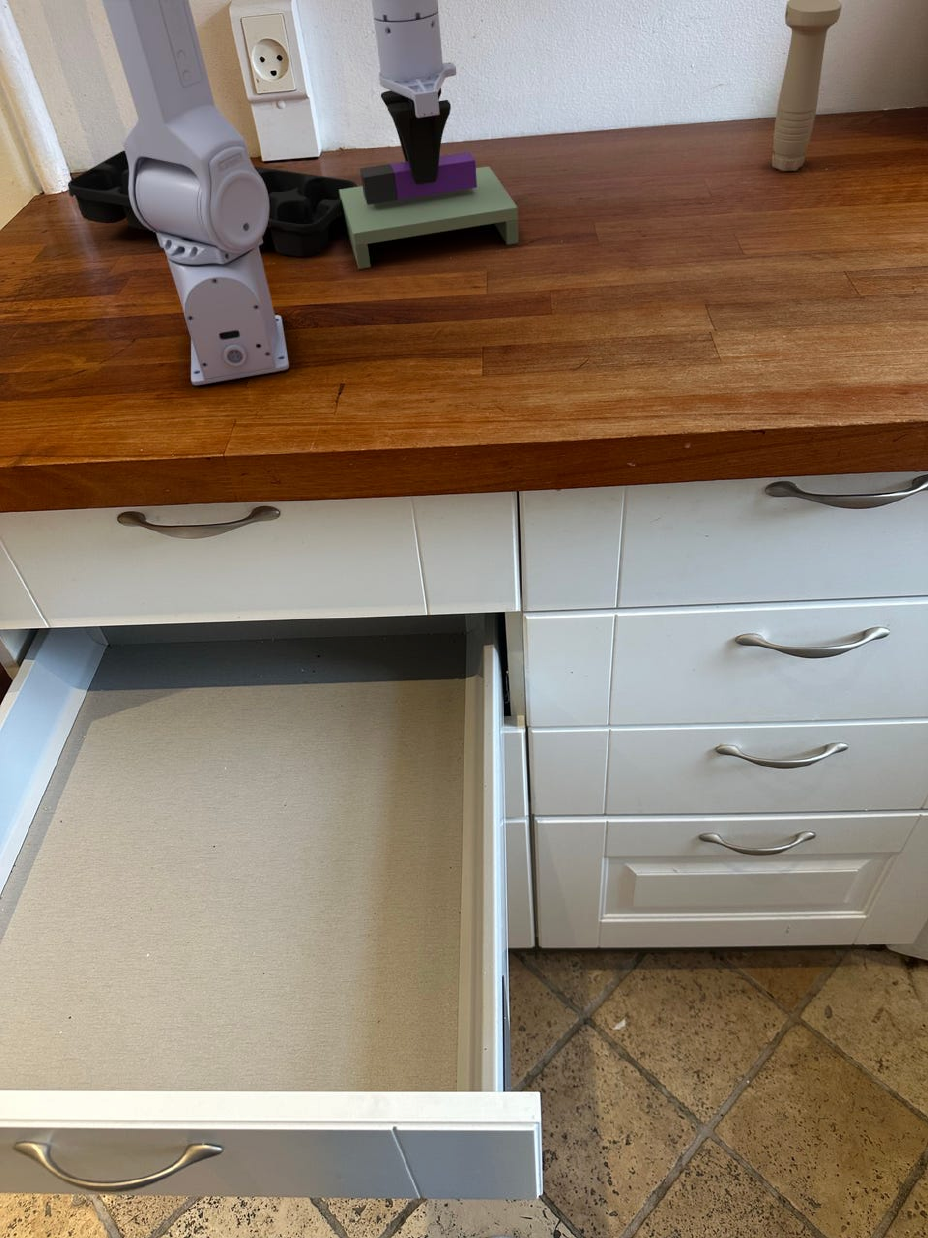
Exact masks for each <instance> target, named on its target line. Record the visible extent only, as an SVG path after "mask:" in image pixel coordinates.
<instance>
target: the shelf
mask: <svg viewBox="0 0 928 1238" xmlns="http://www.w3.org/2000/svg"><path fill="white" fill-rule="evenodd" d="M476 180H477V187H476V188H471V189H464V190H458V191H452V192H445V193H439V194H433V195H426V196H420V197H414V198H408V199H401V200H398V199H397V200H395V201H389V202H383V203H376V204H370V205H367V202H366V200H365V197H364V192H363V186H362V185H360V186H357V187H353V188H347V189H340V190H339V194H340V199H341V200H342V205H343V210H344V213H343V214H344V221H345V227H344V228H345V230H346V233H347V236H348V239H349V242H350V246H351V248H352V253H353V255H354V259H355V261H356V264H357V268H358V270H363V269H368V268H369V269H370V268H371V267H372V265H371V259H370V252H369V245H370V244H376V243H382V242H388V241H394V240H399V239H407V238H412V237H418V236H425V235H431V234H437V233H444V232H450V231H456V230H461V229H468V228H474V227H480V226H486V225H492V224H493V225H494V226H495V228H496V230H497V231H498V233H499V234H500V236H501V237H502V239H503V240H504V242H505V244H506V245H507V246H509V245H516V244H519V242H520V240H519V239H520V237H519V211H518V210H519V209H518V208H519V207H518V205H516V203H515V202H514V200H513V198H512V197H511V196H510V194H509V193H508V191H507V190H506V188H505V187H504V186H503V185H502V183H501V181H500V180H499V179H498V177H497V175H496V174H495V172H494V171H493V170H492V168H491V167H490V165H489V166H488V165H487V166H483V167H476Z"/></svg>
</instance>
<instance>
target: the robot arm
mask: <svg viewBox="0 0 928 1238" xmlns="http://www.w3.org/2000/svg"><path fill="white" fill-rule="evenodd" d="M438 1H439V0H371V7H372V14H373V22H374V31H375V40H376V46H377V56H378V63H379V72H378V81H379V85H380V86H381V87H383V88H384V89H386V91H384V92H381V94H380V98H381V101H382V102H383V104H384V105H385V107H386V109H387V112H388V113H389V115H390V117H391V118H392V121H393V123H394V127H395V129H396V132H397V136H398V138H399V143H400V147H401V150H402V151H401V152H402V154H403V157H404V160H405V161H404V162H406V161H408V163H409V167H410V170H411V173H412V176H413V179H414V181H415V183H416V184H424V183H430V182H436V180H437V174H438V166H439V156H441V155H440V153H441V144H442V140H443V139H442V138H443V134H444V130H445V126H446V123H447V121H448V119H449V116H450V113H451V107H452V105H451V103H450V101H449V100H448V99H444V100H443V99H442V100H440V97H441V94H442V88H441V87H442V86H443V84H444V82H445V79H446V78H448V77H449V78H450V77H454V76H456V75H457V65H455V64H454V63H453V62H443V51H442V50H443V49H442V40H441V39H442V38H441V28H440V27H441V25H440V15H439V14H440V13H439V2H438ZM101 2H102V5H103V8H104V11H105V14H106V17H107V22H108V25H109V28H110V31H111V34H112V37H113V40H114V44H115V47H116V51H117V53H118V57H119V60H120V64H121V66H122V69H123V73H124V75H125V79H126V83H127V85H128V89H129V92H130V97H131V99H132V102H133V106H134V108H135V112H136V115H137V121H136V122H135V123H134V125H133V127H132V128H131V129H130V131H129V132H128V134H127V135H126V136H125V138H124V140H123V142H122V146H123V151H124V150H125V153H126V156H127V160H128V164H129V198H130V202H131V205H132V208H133V211H134V213H135V215H136V216H137V218H138V219H139V221H140V222H141V223H142V224H143V225H144V226H145V227H147V228H148V229H149V231H152V232H153V233H155V234H156V238H157V241H158V244H159V247H160V248H162V249H163V250H164V252H165V255H166V259H167V262H168V265H169V269H170V272H171V275H172V277H173V281H174V285H175V289H176V291H177V295H178V297H179V301H180V304H181V308H182V311H183V315H184V319H185V323H186V327H187V329H188V333H189V336H190V339H191V340H190V352H191V353H190V357H191V358H190V382H191V384H192V385H193V386H203V385H208V384H213V383H220V382H227V381H231V380H237V379H242V378H248V377H254V376H260V375H265V374H266V375H267V374H271V373H278V372H283V371H287V370H288V369H289V368H290V362H289V356H288V350H287V349H288V348H287V342H286V335H285V330H284V324H283V323H284V322H283V318H282V316H281V315H278V314H277V315H276V314H275V310H274V306H273V305H274V304H273V302H272V301H273V300H272V297H271V293H270V289H269V284H268V280H267V275H266V271H265V267H264V263H263V258H262V254H261V250H260V248H259V245H261V244H262V243H263V240H262V236H263V234H264V232H265V230H266V227H267V223H268V219H269V197H268V192H267V189H266V186H265V184H264V182H263V180H262V178H261V176H260V175H259V174H258V172H257V171H256V170H255V168H254V166H255V165H254V164H253V162H252V159H251V158H250V153H249V150H248V146H247V142H246V140H245V138H244V137H243V136H242V134H241V133H240V132H239V131H238V130H237V128H236V127H234V125H233V124H232V123H231V122H230V121H229V120H228V118H226V117H225V116H224V114H223V113H222V112H221V111H220V110H219V109H218V107H217V106H216V104H215V100H214V96H213V92H212V88H211V84H210V80H209V75H208V73H207V72H208V71H207V69H206V64H205V60H204V57H203V53H202V48H201V45H200V41H199V37H198V32H197V28H196V24H195V21H194V16H193V13H192V8H191V5H190V0H101Z"/></svg>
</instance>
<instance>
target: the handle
mask: <svg viewBox="0 0 928 1238" xmlns="http://www.w3.org/2000/svg"><path fill="white" fill-rule="evenodd" d="M842 6H843V5H842V2H841V1H840V0H788V1H787V2H786V5H785V12H784V13H785V14H784V20H785V25H786V26H787V27H789V28H790V29H791V35H790V36H791V37H790V43H789V48H788V53H787V57H786V63H785V69H784V72H783V73H784V74H783V79H782V82H781V88H780V93H779V98H778V102H777V108H776V116H775V122H774V130H773V131H774V133H773V152H774V154H772V156H771V157H772V158H771V165H772V168H773V169H776V170H779V171H780V172H796V171H798V170H799V168H802V166H803V165H804V162H805V159H806V155H807V154H806V152H807V150H808V147H809V144H810V139H811V138H812V137H811V136H812V132H813V128H814V124H815V123H814V122H815V119H816V115H817V114H816V113H817V108H818V101H819V93H820V84H821V77H822V69H823V68H822V67H823V60H824V52H825V45H826V40H827V39H826V38H827V32H828V30H829V29H830V28H831V27H832V26H834V25H835V24H837V23H838V22H839V19H840V16H841V12H842V11H841V10H842Z"/></svg>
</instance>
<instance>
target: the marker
mask: <svg viewBox="0 0 928 1238" xmlns="http://www.w3.org/2000/svg"><path fill="white" fill-rule="evenodd" d="M476 166H477V165H476V160H475V158H474V155H472V153H471V152H470V151H465V152H459V153H452V154H445V155H439V166H438V174H437V180H436V182H430V183H424V184H416V183H415V181H414V179H413V176H412V173H411V170H410V167H409V163H408V161H401V162H400V161H399V162H394V163H386V164H379V165H373V166H367V167H361V168H359V173H360V178H361V186H363V192H364V197H365V200H366V202H367V205H370V204H376V203H383V202H389V201H395V200H397V199H398V200H401V199H408V198H414V197H420V196H426V195H433V194H439V193H445V192H452V191H458V190H464V189H471V188H476V187H477V180H476V168H477V167H476Z"/></svg>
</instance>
